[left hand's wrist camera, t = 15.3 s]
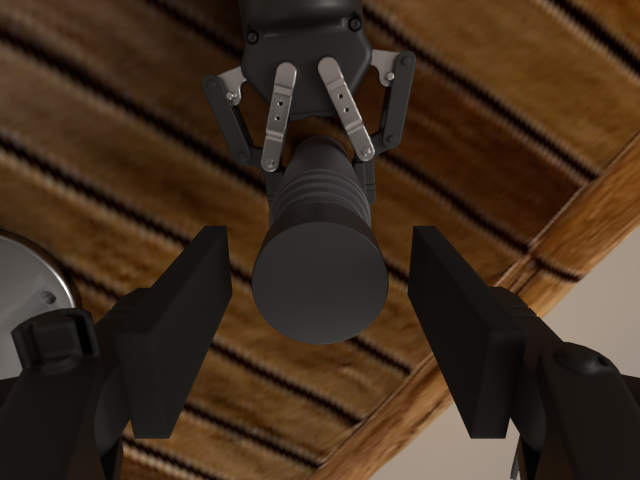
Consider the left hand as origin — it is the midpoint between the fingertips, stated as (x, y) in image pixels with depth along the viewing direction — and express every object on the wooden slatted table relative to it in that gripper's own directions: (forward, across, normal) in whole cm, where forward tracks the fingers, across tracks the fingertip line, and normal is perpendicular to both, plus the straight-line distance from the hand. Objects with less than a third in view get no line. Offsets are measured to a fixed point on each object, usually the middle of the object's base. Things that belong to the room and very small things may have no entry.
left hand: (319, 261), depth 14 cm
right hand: (+15, 0, -3) cm, 15 cm away
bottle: (+21, 0, 0) cm, 21 cm away
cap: (-2, 0, 0) cm, 2 cm away
